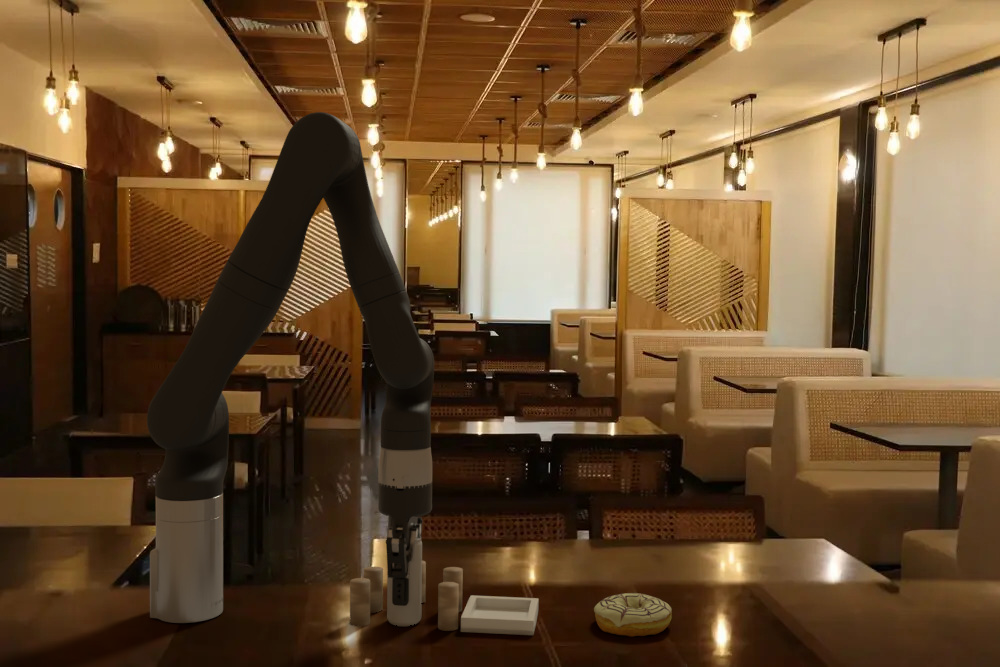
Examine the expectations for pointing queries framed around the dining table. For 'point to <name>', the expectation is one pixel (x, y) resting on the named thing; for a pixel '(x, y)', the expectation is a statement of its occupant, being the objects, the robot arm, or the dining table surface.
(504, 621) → the parts tray
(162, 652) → the dining table surface
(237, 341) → the robot arm
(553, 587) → the dining table surface
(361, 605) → the posts
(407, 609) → the beverage can
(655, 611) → the decorated donut
